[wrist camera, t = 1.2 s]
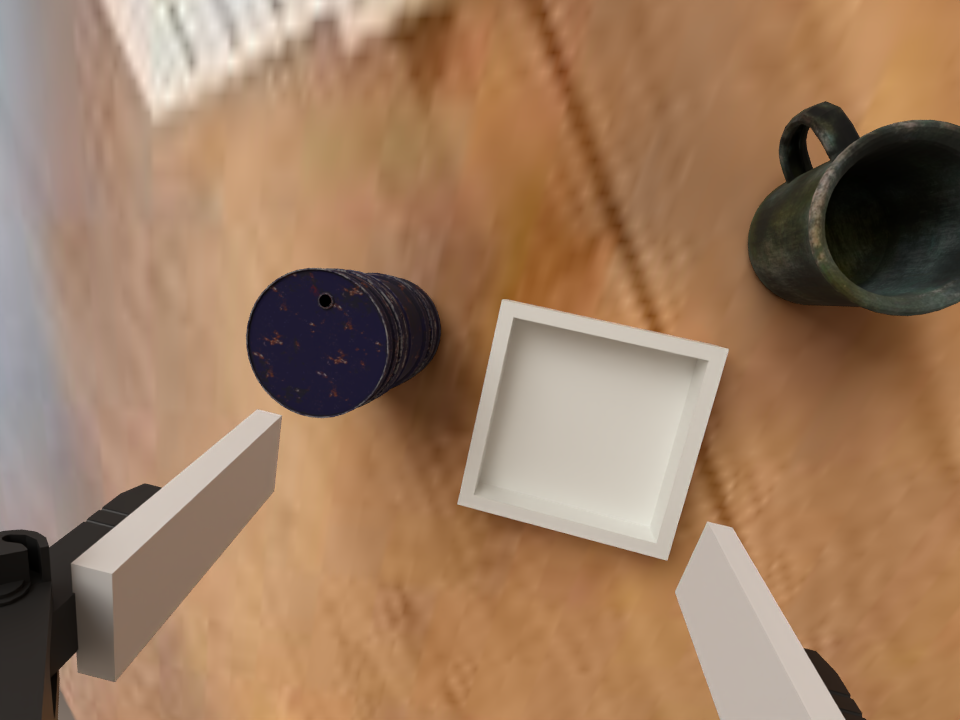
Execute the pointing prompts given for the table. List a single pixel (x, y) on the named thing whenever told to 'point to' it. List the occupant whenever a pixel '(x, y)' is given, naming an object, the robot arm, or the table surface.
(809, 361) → the table surface
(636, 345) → the tray
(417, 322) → the dark blue canister
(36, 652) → the robot arm
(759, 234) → the mug
